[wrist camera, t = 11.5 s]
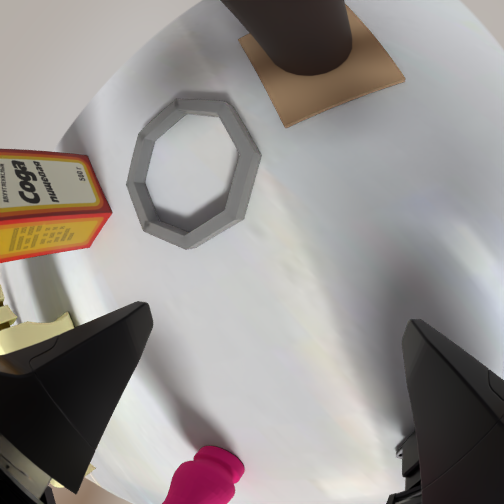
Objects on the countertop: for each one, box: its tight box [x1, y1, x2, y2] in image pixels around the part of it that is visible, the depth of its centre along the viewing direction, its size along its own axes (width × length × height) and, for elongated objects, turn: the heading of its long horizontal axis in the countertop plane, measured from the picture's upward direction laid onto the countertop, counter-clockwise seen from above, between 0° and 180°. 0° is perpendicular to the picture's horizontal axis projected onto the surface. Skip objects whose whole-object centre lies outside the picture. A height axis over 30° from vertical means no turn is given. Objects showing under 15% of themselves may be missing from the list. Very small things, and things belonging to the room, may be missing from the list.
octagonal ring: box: [126, 99, 262, 250], centre depth 21 cm, size 12×12×2 cm
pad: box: [238, 4, 405, 128], centre depth 16 cm, size 10×10×1 cm
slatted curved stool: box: [0, 285, 96, 487], centre depth 28 cm, size 30×16×18 cm, turn 27°
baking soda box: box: [0, 149, 112, 263], centre depth 21 cm, size 10×6×16 cm
